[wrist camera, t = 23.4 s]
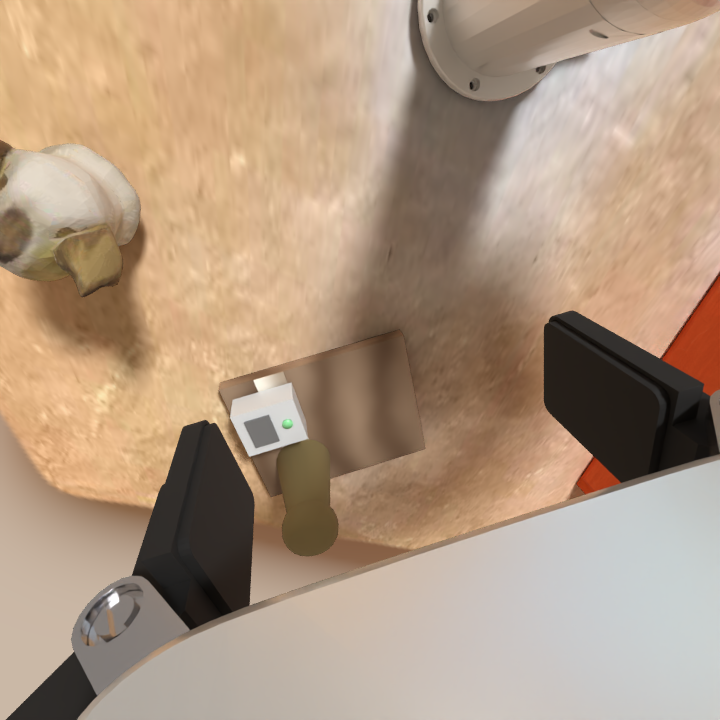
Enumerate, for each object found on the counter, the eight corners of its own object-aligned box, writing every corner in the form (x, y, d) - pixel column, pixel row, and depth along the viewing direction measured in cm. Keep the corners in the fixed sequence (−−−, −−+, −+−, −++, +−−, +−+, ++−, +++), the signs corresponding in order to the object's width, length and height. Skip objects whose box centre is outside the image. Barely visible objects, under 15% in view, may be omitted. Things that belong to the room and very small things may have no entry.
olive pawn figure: (341, 457, 47) (359, 538, 37) (304, 488, 48) (312, 575, 38) (303, 429, 44) (311, 509, 34) (264, 464, 45) (262, 550, 36)
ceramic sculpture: (-13, 188, 30) (-227, 222, 17) (60, 100, 29) (-115, 66, 16) (117, 288, 35) (27, 374, 22) (185, 219, 34) (131, 267, 21)
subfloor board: (399, 329, 42) (403, 336, 41) (421, 440, 50) (425, 449, 49) (220, 382, 41) (218, 390, 40) (271, 487, 49) (270, 497, 48)
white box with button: (291, 382, 41) (292, 400, 38) (305, 421, 43) (308, 440, 40) (232, 399, 40) (229, 418, 37) (250, 437, 43) (249, 458, 40)
